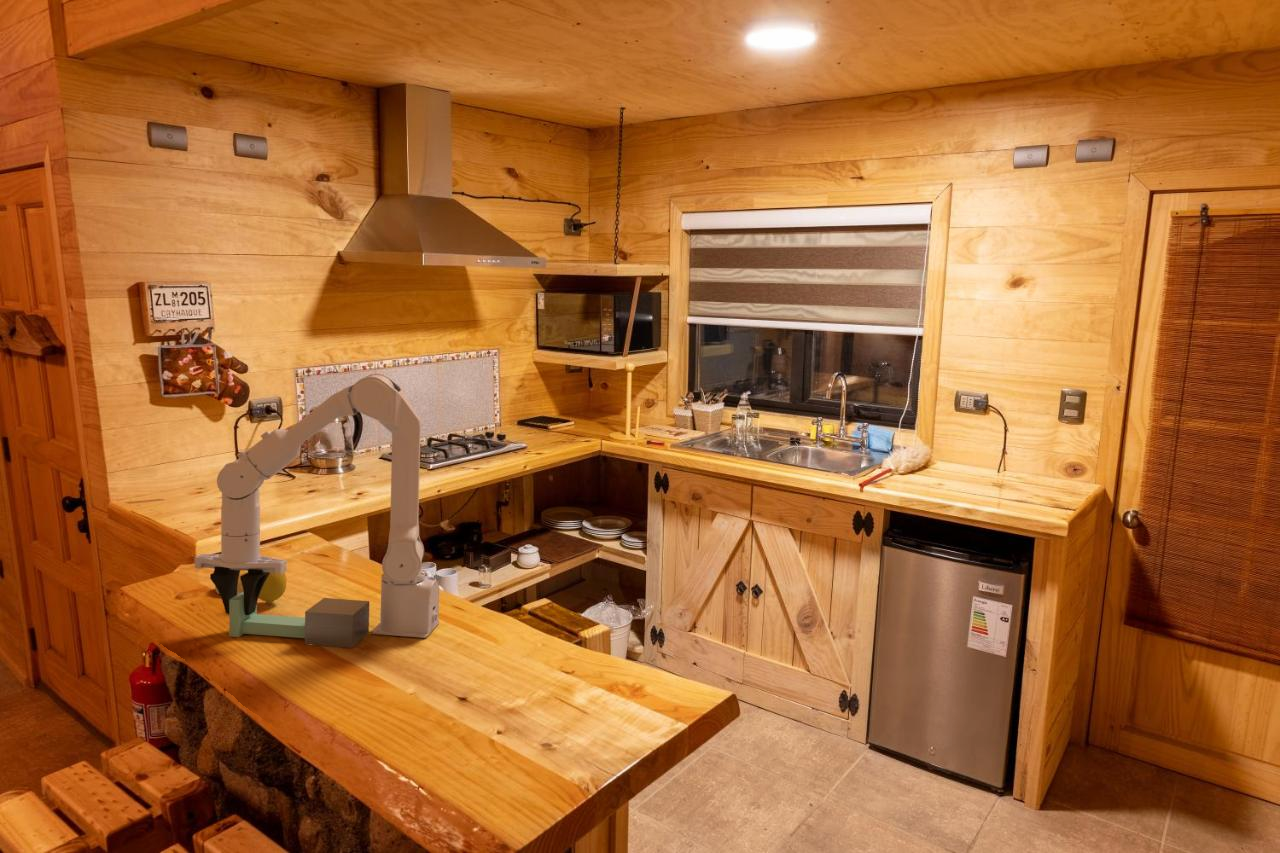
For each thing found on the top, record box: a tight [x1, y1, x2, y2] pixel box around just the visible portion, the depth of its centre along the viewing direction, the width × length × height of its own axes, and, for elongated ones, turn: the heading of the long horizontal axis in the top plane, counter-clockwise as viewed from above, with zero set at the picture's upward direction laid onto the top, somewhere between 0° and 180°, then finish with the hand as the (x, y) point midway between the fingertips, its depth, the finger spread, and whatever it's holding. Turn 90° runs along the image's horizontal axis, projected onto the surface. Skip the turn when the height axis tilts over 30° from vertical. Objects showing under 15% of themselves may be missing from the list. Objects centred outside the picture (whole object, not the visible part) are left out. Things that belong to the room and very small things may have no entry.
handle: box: [228, 592, 305, 639], centre depth 135 cm, size 14×6×6 cm, turn 87°
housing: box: [304, 597, 370, 649], centre depth 134 cm, size 8×7×6 cm
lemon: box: [258, 572, 287, 605], centre depth 148 cm, size 6×6×8 cm
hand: (240, 612), depth 135 cm, fingers closed on handle, 3 cm apart
